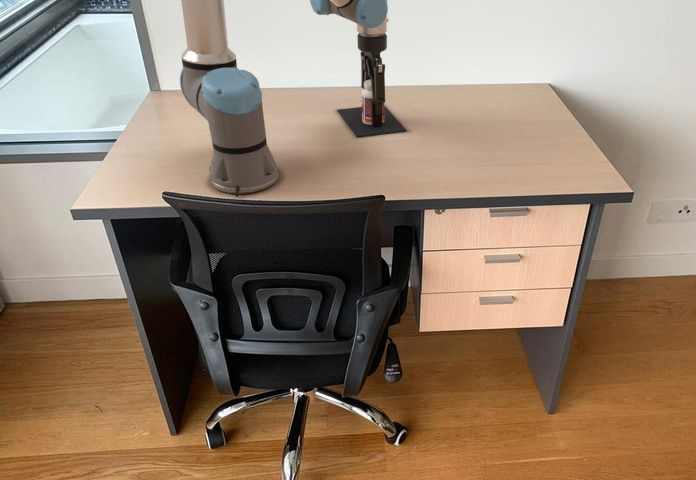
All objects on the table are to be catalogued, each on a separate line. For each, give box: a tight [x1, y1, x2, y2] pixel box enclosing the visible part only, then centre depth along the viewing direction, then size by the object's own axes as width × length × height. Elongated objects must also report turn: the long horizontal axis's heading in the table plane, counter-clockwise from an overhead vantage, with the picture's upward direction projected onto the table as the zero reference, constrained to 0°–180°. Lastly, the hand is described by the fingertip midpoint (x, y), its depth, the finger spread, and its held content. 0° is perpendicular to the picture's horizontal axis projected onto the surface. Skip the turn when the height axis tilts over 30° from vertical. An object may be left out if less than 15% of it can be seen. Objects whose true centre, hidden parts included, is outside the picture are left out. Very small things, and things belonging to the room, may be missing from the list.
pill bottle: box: [361, 80, 385, 125], centre depth 159 cm, size 6×6×11 cm
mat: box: [337, 105, 408, 138], centre depth 164 cm, size 20×14×1 cm
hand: (373, 120), depth 162 cm, fingers closed on pill bottle, 6 cm apart
